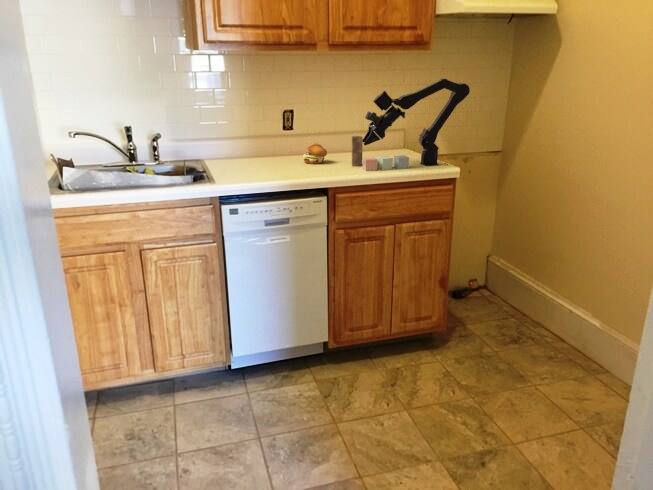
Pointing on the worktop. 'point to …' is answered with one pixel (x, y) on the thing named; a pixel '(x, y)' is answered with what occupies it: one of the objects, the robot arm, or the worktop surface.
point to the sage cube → (384, 163)
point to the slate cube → (401, 162)
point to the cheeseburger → (315, 154)
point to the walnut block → (357, 150)
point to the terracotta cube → (370, 164)
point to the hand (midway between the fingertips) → (363, 143)
